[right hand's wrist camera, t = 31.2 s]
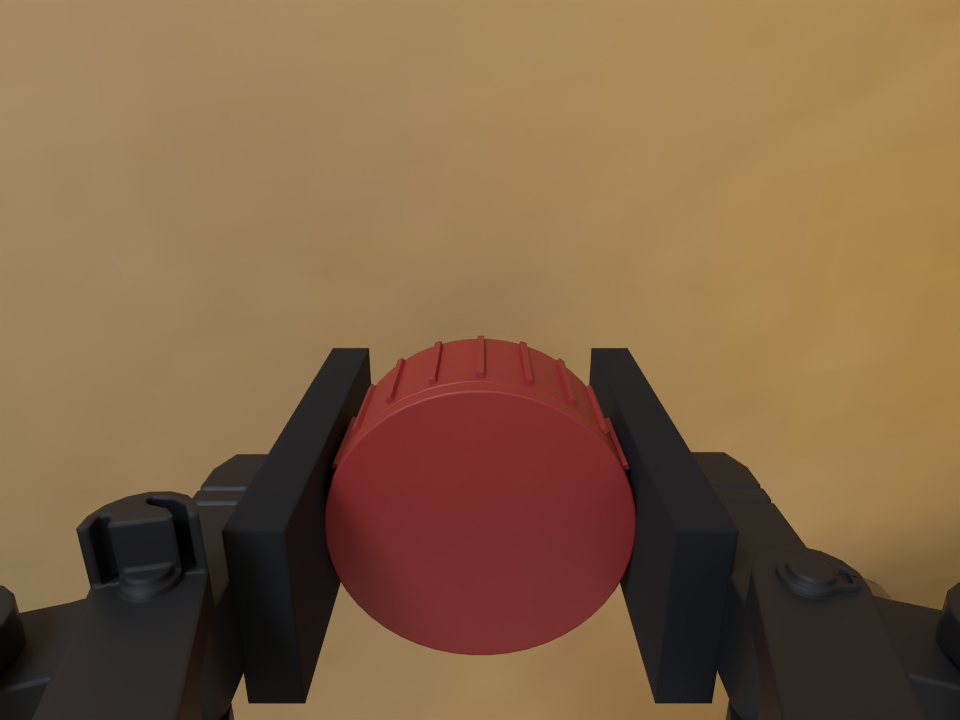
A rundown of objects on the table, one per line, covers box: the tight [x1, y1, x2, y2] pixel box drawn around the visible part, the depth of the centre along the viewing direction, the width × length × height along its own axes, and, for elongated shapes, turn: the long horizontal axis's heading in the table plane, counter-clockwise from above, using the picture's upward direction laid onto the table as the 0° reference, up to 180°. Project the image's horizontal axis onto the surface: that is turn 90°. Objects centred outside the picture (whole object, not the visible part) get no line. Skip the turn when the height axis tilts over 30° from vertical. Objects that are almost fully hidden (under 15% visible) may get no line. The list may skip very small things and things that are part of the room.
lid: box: [325, 336, 636, 655], centre depth 11 cm, size 5×5×2 cm
